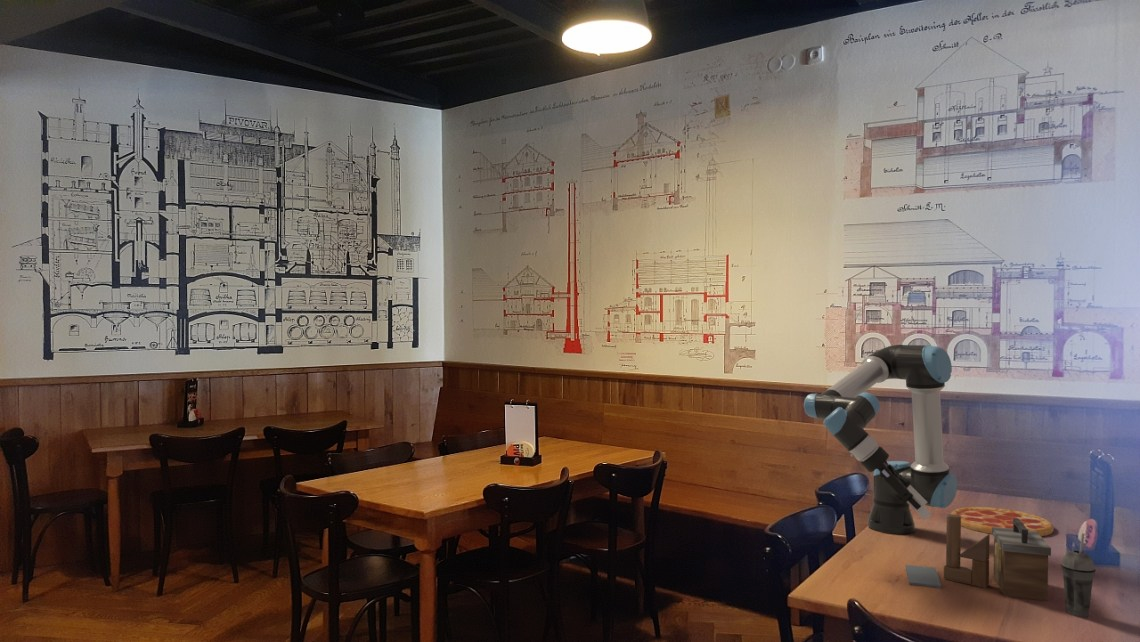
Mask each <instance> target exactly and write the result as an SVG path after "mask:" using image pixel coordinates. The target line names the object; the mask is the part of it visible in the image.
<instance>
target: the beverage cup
mask: <svg viewBox="0 0 1140 642" xmlns="http://www.w3.org/2000/svg"><path fill="white" fill-rule="evenodd" d="M1084 539H1085V533H1081V539H1080V545H1079V550H1071V551H1068V552H1066V553H1065V554H1064V556H1063V557H1062V559H1061V564H1060V566H1061V572H1062V575H1063V576H1062V577H1063V587H1064V588H1063V589H1064V599H1065V607H1066V613H1067V614H1069V615H1071V616H1074V617H1078V618H1086V617H1089V611H1090V607H1091V599H1092V590H1093V581H1094V577H1095V574H1096V573H1095V572H1096V566H1095V563H1094V561H1093V559H1092V558H1091V557H1090V556H1089V555H1088V553H1086V552H1084V551H1083V549H1084V548H1083V547H1084Z"/></svg>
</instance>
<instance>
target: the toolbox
mask: <svg viewBox="0 0 1140 642" xmlns="http://www.w3.org/2000/svg"><path fill="white" fill-rule="evenodd" d="M991 535H992V537H993V578H994V580H995V582H996V583H997V584H996V585H998V587H999V589H1000V592H1001V593H1002V594H1003V596H1004V597H1010V598H1011V597H1012V598H1019V599H1027V600H1037V601H1047V602H1048V600H1049V599H1048V594H1049V591H1048V590H1049V583H1048V582H1049V556H1052V548H1051V546H1050V545H1049V544H1048V542H1047V541H1045V539H1044V538H1043V536H1042V537H1041V536H1040V535H1039V534H1038V532H1037V531H1031V530H1028V529H1027V528H1026V527H1025V526H1024V524H1023V523H1022V522H1021V521H1020V520H1019V519H1018V518H1013V529H1010V528H999V527H992V534H991Z"/></svg>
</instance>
